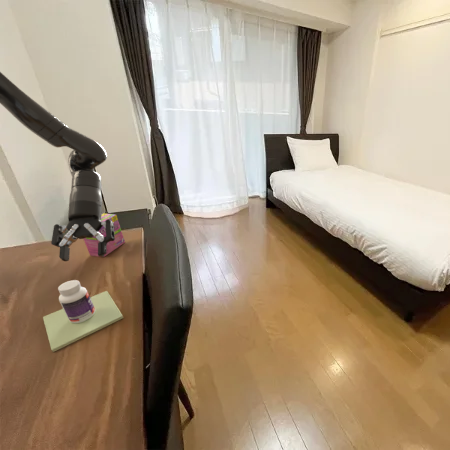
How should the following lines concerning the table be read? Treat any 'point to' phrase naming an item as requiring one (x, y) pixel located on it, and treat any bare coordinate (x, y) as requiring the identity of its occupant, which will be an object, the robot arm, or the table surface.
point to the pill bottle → (75, 301)
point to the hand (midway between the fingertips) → (83, 258)
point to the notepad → (70, 332)
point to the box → (112, 245)
